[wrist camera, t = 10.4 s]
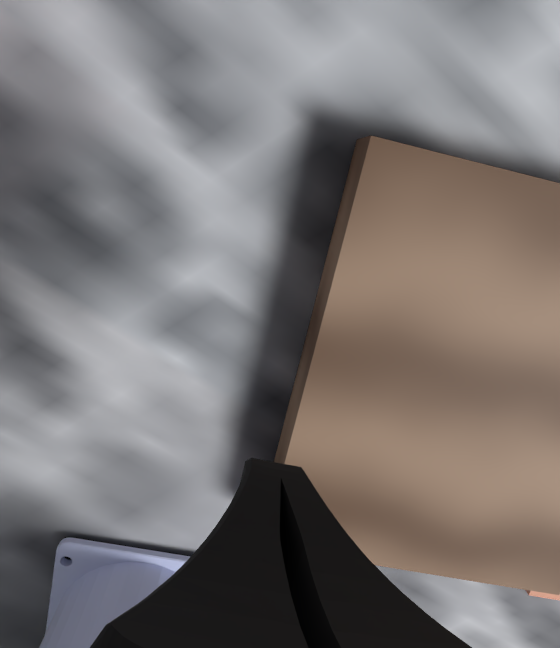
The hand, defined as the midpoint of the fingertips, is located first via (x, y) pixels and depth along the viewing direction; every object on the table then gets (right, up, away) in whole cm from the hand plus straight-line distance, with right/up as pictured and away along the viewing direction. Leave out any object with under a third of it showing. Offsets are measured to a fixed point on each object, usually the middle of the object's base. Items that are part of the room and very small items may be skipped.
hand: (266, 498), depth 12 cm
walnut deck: (+8, +2, +10) cm, 12 cm away
